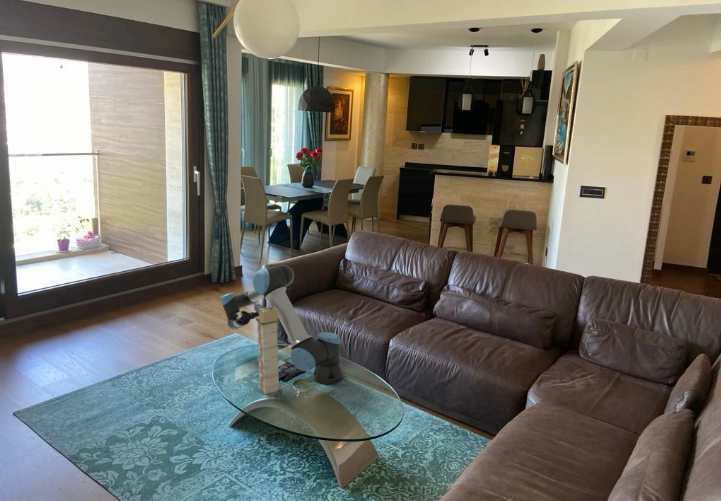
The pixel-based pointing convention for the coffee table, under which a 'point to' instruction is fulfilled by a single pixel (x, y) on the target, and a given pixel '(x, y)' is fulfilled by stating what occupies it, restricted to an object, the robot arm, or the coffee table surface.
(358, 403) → the coffee table surface
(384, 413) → the coffee table surface
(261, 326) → the pedestal
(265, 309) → the bar
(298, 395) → the coffee table surface
